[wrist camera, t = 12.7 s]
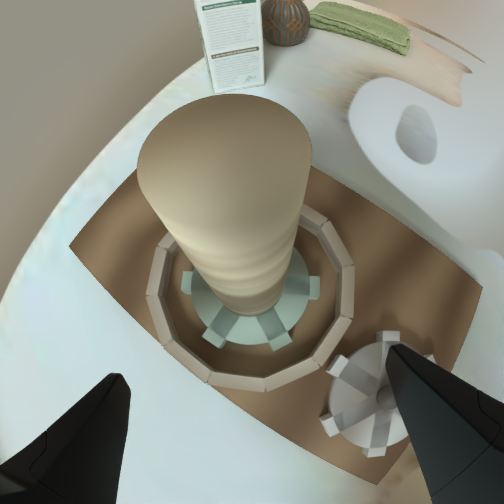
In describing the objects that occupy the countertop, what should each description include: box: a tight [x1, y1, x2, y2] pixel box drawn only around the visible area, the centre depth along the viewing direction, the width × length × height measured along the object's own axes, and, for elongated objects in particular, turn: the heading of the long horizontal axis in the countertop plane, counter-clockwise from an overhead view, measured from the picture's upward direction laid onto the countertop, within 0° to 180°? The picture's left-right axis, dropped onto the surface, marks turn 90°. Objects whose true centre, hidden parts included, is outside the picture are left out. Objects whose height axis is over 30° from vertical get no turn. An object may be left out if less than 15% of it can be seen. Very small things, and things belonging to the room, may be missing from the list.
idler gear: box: [137, 94, 320, 351], centre depth 12 cm, size 8×8×13 cm
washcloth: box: [309, 2, 410, 55], centre depth 33 cm, size 13×18×3 cm
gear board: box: [69, 166, 483, 485], centre depth 18 cm, size 30×17×3 cm, turn 53°
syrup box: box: [194, 0, 265, 94], centre depth 21 cm, size 6×6×14 cm
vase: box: [261, 0, 310, 46], centre depth 27 cm, size 7×7×9 cm
